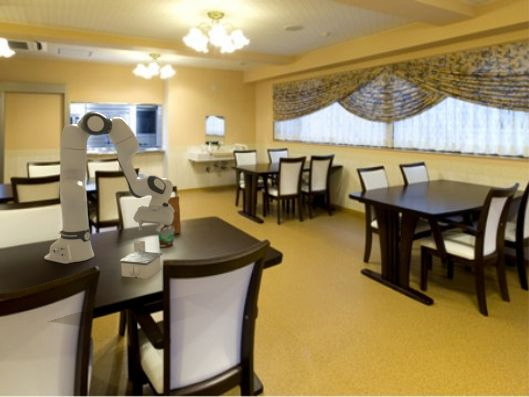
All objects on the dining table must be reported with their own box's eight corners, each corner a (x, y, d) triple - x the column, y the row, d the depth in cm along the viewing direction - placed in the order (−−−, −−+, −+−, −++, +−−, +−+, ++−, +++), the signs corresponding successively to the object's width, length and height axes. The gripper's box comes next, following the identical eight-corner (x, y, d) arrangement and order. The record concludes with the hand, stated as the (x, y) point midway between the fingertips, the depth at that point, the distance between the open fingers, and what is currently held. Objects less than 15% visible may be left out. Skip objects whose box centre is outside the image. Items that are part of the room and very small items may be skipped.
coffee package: (159, 231, 238) (157, 195, 234) (179, 229, 242) (178, 194, 238) (160, 235, 229) (158, 198, 225) (181, 233, 233) (180, 197, 229)
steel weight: (132, 261, 186) (131, 243, 184) (138, 257, 191) (137, 240, 189) (142, 262, 185) (141, 244, 183) (147, 258, 190) (146, 241, 188)
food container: (169, 249, 204) (168, 231, 202) (158, 248, 205) (157, 230, 203) (178, 242, 216) (178, 225, 214) (168, 242, 217) (167, 224, 215)
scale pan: (119, 262, 167) (119, 260, 166) (135, 252, 179) (135, 250, 179) (147, 264, 164) (147, 263, 164) (161, 254, 176) (161, 253, 176)
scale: (121, 276, 168) (120, 263, 167) (137, 266, 180) (136, 253, 179) (146, 279, 165) (146, 265, 164) (160, 268, 177) (160, 256, 176)
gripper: (136, 202, 202) (127, 225, 194) (173, 204, 197) (165, 228, 190) (141, 209, 207) (132, 231, 199) (177, 211, 202) (169, 234, 195)
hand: (148, 230), depth 195 cm, fingers open, 8 cm apart
